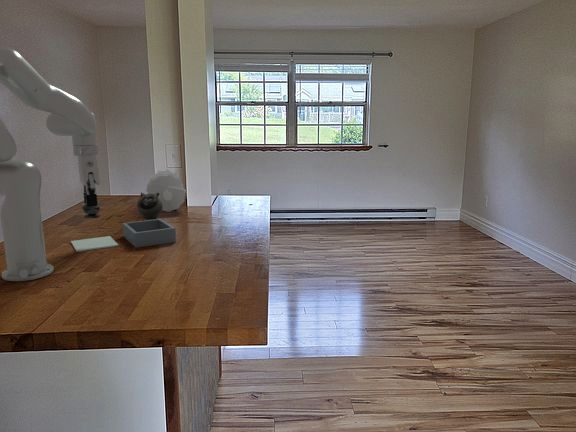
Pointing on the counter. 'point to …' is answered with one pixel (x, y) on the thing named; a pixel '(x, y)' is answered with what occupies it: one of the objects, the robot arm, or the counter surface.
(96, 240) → the mat
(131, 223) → the crate
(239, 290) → the counter surface
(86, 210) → the stone chess piece
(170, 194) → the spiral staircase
